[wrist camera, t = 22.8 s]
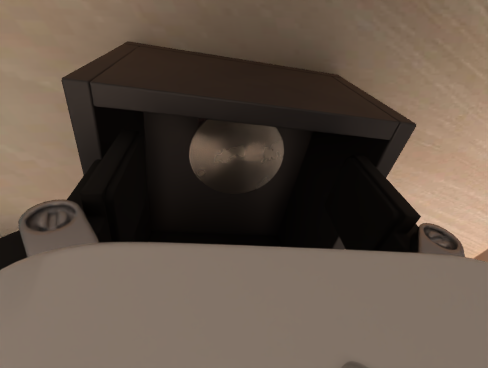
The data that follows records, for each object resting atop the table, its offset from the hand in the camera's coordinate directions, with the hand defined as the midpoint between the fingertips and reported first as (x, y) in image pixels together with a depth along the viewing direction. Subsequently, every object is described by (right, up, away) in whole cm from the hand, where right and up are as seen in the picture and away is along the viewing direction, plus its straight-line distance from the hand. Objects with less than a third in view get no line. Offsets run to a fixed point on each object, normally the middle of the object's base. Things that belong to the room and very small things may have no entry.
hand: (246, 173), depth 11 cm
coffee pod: (-1, +3, +6) cm, 6 cm away
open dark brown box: (-1, +1, +8) cm, 8 cm away
